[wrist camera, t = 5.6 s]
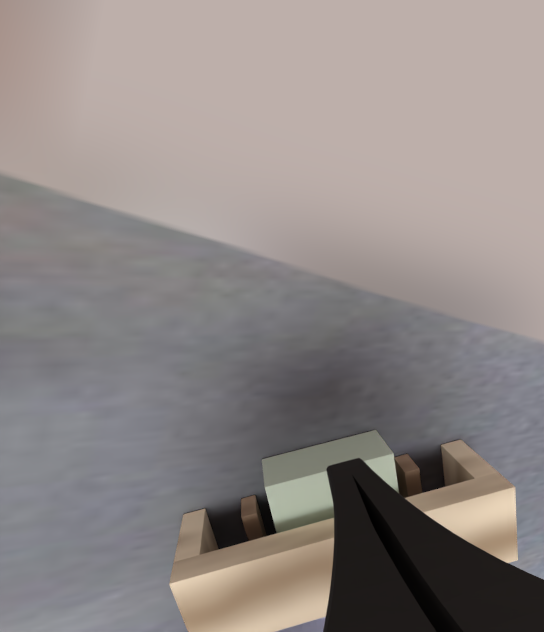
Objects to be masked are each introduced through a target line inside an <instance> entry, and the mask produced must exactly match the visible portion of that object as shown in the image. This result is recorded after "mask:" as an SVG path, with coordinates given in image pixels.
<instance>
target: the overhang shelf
mask: <svg viewBox="0 0 544 632" xmlns="http://www.w3.org/2000/svg"><path fill="white" fill-rule="evenodd" d="M441 451H442V461H443V470H444V480H445V487H443V488H439V489H435V490H432V491H428V492H424V493H422V486H421V478H420V470H419V468H418V466H417V465H416V464H415V463H414V461H413V460H412V459H411V458H410V456H409V455H408V454H405V455H401V456H398V457H394V460H395V468H396V475H397V482H398V489H399V494H400V495H402V496H403V497H404V498H405V499H406V500H408V501H409V502H410V503H412V504H413V505H414V506H415V507H417V508H418V509H419V510H421V511H422V512H423V513H425V514H426V515H428V516H429V517H430V518H432V519H433V520H435V521H436V522H438V523H439V524H441V525H442V526H444V527H445V528H447V529H448V530H450V531H451V532H453V533H455V534H456V535H458V536H459V537H461V538H463V539H464V540H466V541H468V542H469V543H471V544H473V545H475V546H476V547H478V548H480V549H482V550H484V551H486V552H487V553H489V554H491V555H493V556H495V557H497V558H498V559H500V560H502V561H504V562H506V563H510V562H513V561H517V560H518V553H517V527H516V500H515V486H514V485H512V484H511V483H510V482H509V481H508V480H507V479H505V478H504V477H503V476H502V475H501V474H500V473H499V472H497V471H496V470H495V469H494V468H493V467H492V466H491V465H489V464H488V463H487V462H486V461H485V460H484V459H483V458H481V457H480V456H479V455H478V454H477V453H476V452H475V451H473V450H472V449H471V448H470V447H469V446H468V445H467V444H465V443H464V442H463V441H462V440H457V441H453V442H450V443H446V444H442V445H441ZM241 518H242V521H243V525H244V528H245V531H246V535H247V538H248V542H244V543H241V544H237V545H233V546H230V547H226V548H223V549H218V546H217V543H216V540H215V537H214V534H213V531H212V528H211V525H210V521H209V518H208V515H207V512H206V509H201V510H198V511H194V512H190V513H186V514H183V519H182V524H181V529H180V534H179V539H178V544H177V549H176V553H175V558H174V563H173V568H172V573H171V578H170V583H169V584H170V587H171V590H172V592H173V595H174V597H175V600H176V602H177V605H178V607H179V610H180V612H181V615H182V618H183V620H184V623H185V625H186V628H187V630H188V632H275V631H279V630H282V629H285V628H289V627H292V626H296V625H299V624H302V623H306V622H309V621H313V620H316V619H319V618H323V617H326V612H327V606H328V600H329V593H330V586H331V576H332V567H333V553H334V518H331V519H327V520H324V521H320V522H316V523H313V524H309V525H306V526H302V527H298V528H295V529H291V530H288V531H284V532H280V533H277V534H273V535H270V536H267V535H266V531H265V528H264V524H263V521H262V517H261V513H260V510H259V506H258V503H257V499H256V496H255V495H253V496H249V497H246V498H242V499H241Z"/></svg>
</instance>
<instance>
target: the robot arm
mask: <svg viewBox="0 0 544 632" xmlns="http://www.w3.org/2000/svg"><path fill="white" fill-rule="evenodd" d="M326 471H327V475H328V480H329V485H330V490H331V495H332V500H333V507H334V553H333V567H332V576H331V586H330V593H329V600H328V606H327V612H326V617H323V618H319V619H316V620H313V621H309V622H306V623H302V624H299V625H296V626H292V627H289V628H285V629H282V630H279V631H275V632H544V580H543V579H541V578H539V577H536V576H534V575H531V574H529V573H527V572H525V571H523V570H521V569H519V568H517V567H515V566H513V565H511V564H508V563H506V562H504V561H502V560H500V559H498V558H497V557H495V556H493V555H491V554H489V553H487V552H486V551H484V550H482V549H480V548H478V547H476V546H475V545H473V544H471V543H469V542H468V541H466V540H464V539H463V538H461V537H459V536H458V535H456V534H455V533H453V532H451V531H450V530H448V529H447V528H445V527H444V526H442V525H441V524H439V523H438V522H436V521H435V520H433V519H432V518H430V517H429V516H428V515H426V514H425V513H423V512H422V511H421V510H419V509H418V508H417V507H415V506H414V505H413V504H412V503H410V502H409V501H408V500H406V499H405V498H404V497H403V496H402V495H400V494H399V493H398V492H397V491H396V490H394V489H393V488H392V487H391V486H390V485H388V484H387V483H386V482H385V481H384V480H383V479H382V478H381V477H380V476H378V475H377V474H376V473H375V472H374V471H373V470H372V469H371V468H370V467H369V466H368V465H367V464H366V463H365V462H364V461H363V460H362V459H360V458H356V459H352V460H348V461H345V462H341V463H337V464H333V465H330V466H328V467H327V469H326Z"/></svg>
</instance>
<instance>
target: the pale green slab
mask: <svg viewBox="0 0 544 632" xmlns="http://www.w3.org/2000/svg"><path fill="white" fill-rule="evenodd" d="M356 458H360V459H362V460H363V461H364V462H365V463H366V464H367V465H368V466H369V467H370V468H371V469H372V470H373V471H374V472H375V473H376V474H377V475H378V476H380V477H381V478H382V479H383V480H384V481H385V482H386V483H387V484H388V485H390V486H391V487H392V488H393V489H394V490H396V491H397V492H398V493H399V490H398V482H397V475H396V468H395V460H394V453H393V452H392V451H391V449H390V448H389V447H388V445H387V444H386V443H385V441H384V440H383V439H382V437H381V436H380V435H379V433H378V432H377V431H376V430H373V431H370V432H366V433H362V434H358V435H354V436H350V437H346V438H342V439H338V440H335V441H331V442H327V443H323V444H319V445H315V446H311V447H307V448H304V449H300V450H296V451H292V452H288V453H284V454H280V455H276V456H272V457H269V458H265V459H262V467H263V476H264V485H265V490H266V494H267V498H268V502H269V506H270V510H271V513H272V517H273V521H274V525H275V529H276V533H280V532H284V531H288V530H291V529H295V528H298V527H302V526H306V525H309V524H313V523H316V522H320V521H324V520H327V519H331V518H334V507H333V500H332V495H331V490H330V485H329V480H328V475H327V471H326V469H327V467H328V466H330V465H333V464H337V463H341V462H345V461H348V460H352V459H356Z"/></svg>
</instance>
